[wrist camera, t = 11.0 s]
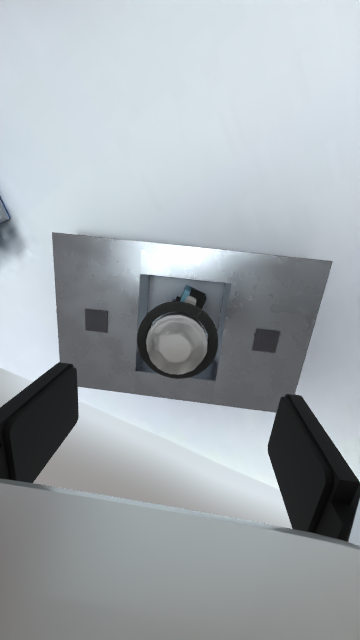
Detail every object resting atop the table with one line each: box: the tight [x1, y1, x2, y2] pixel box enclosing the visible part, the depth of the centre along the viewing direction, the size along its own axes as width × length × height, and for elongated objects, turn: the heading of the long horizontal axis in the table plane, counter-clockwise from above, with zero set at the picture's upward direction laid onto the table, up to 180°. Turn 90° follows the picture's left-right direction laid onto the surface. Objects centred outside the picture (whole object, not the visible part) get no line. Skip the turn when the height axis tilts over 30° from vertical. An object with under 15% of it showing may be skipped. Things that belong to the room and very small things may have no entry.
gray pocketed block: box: [52, 232, 332, 413], centre depth 22 cm, size 22×14×4 cm, turn 84°
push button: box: [137, 285, 218, 379], centre depth 19 cm, size 7×5×10 cm
